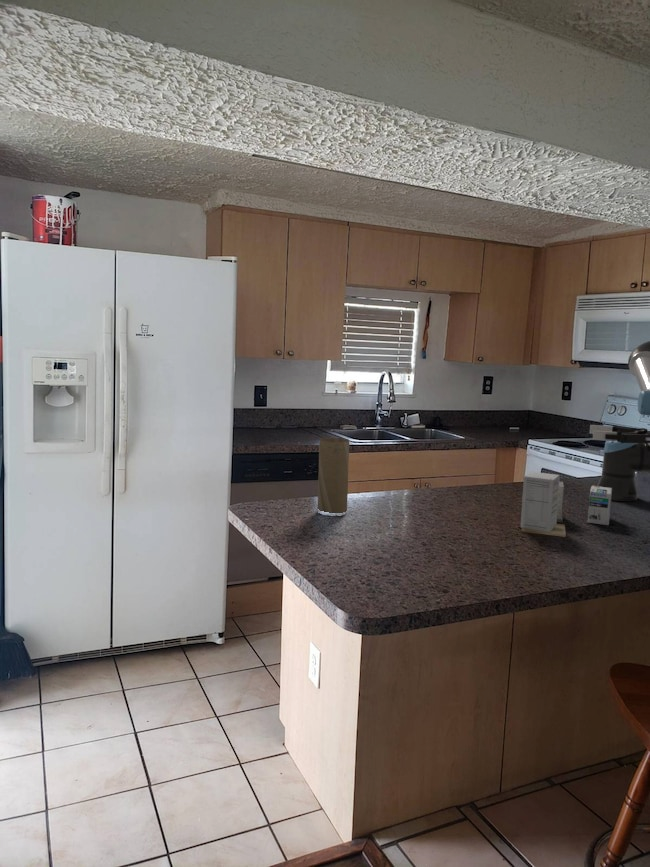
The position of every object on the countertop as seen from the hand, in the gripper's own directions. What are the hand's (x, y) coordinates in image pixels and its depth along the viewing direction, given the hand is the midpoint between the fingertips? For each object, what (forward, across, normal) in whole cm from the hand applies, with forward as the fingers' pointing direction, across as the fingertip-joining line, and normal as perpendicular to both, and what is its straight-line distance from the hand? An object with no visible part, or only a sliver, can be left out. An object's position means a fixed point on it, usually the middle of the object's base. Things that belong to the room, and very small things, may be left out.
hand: (591, 432), depth 202 cm
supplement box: (+13, -2, -32) cm, 34 cm away
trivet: (+12, -2, -32) cm, 34 cm away
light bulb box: (-6, +16, -32) cm, 37 cm away
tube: (+80, -11, -32) cm, 87 cm away
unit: (+10, +13, -32) cm, 36 cm away
